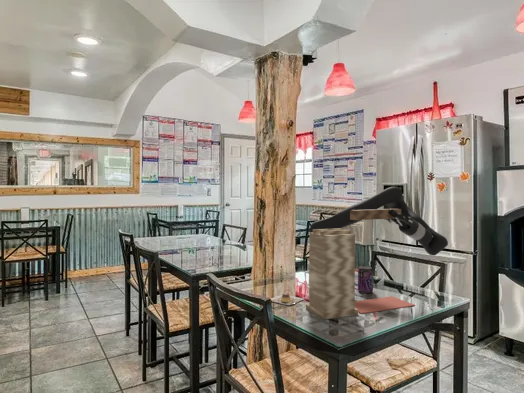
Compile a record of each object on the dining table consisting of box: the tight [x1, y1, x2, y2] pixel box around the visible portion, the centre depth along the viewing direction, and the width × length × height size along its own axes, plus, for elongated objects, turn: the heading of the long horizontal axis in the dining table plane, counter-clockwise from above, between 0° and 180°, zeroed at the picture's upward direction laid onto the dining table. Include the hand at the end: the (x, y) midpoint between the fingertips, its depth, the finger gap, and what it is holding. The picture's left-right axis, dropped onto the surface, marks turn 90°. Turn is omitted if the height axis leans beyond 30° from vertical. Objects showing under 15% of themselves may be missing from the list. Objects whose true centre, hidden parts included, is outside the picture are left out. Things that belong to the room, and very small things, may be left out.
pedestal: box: [305, 228, 359, 320], centre depth 149 cm, size 16×14×34 cm
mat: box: [355, 295, 416, 315], centre depth 158 cm, size 28×14×1 cm, turn 112°
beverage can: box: [357, 265, 374, 294], centre depth 179 cm, size 7×7×12 cm
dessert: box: [270, 291, 304, 306], centre depth 164 cm, size 12×12×5 cm
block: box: [350, 208, 401, 221], centre depth 157 cm, size 24×4×4 cm, turn 112°
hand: (386, 210), depth 159 cm, fingers closed on block, 4 cm apart
